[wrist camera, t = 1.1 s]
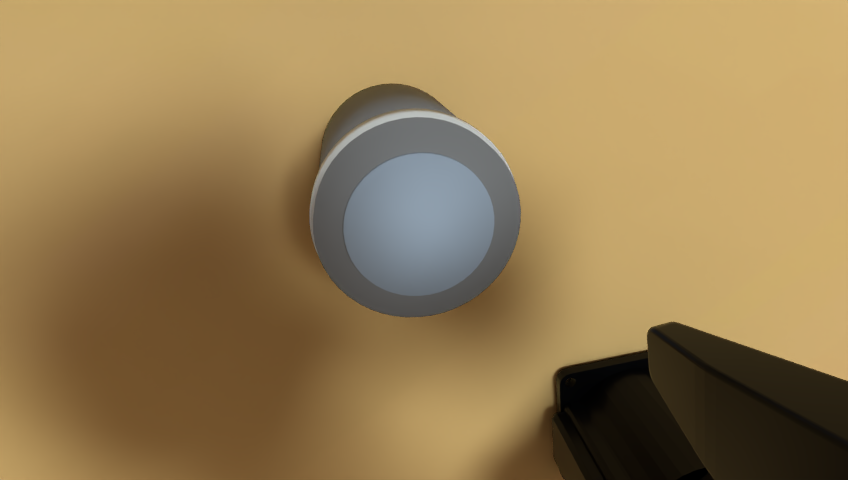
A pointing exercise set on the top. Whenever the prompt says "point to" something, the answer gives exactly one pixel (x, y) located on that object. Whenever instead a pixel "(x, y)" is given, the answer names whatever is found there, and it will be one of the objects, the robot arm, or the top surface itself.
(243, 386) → the top surface
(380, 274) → the lens
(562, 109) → the top surface
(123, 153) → the top surface
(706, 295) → the top surface
